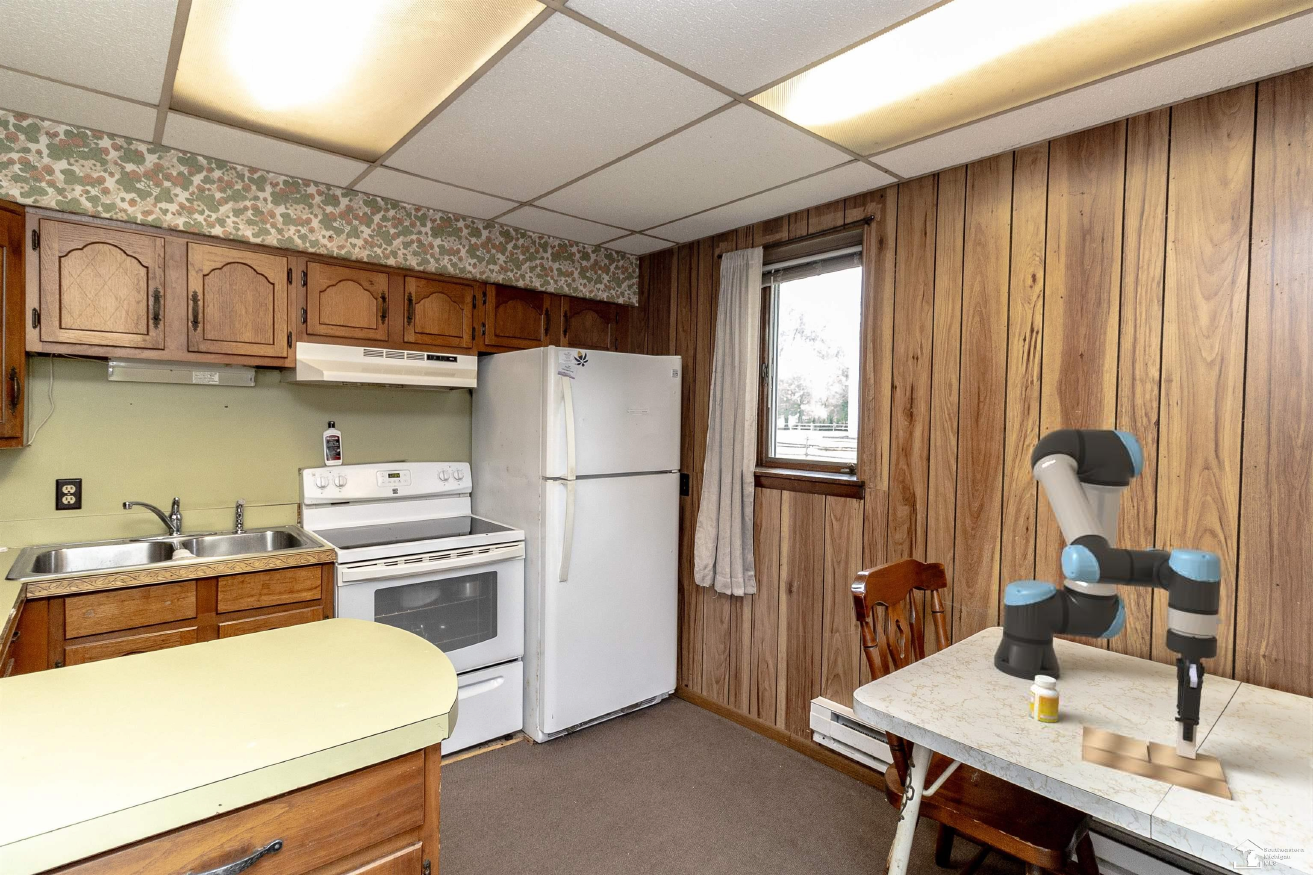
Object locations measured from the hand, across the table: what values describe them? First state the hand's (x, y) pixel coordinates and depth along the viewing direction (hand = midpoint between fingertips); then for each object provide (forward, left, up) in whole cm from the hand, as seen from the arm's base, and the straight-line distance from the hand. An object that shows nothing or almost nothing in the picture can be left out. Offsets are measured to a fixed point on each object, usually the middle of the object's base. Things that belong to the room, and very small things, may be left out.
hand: (1185, 754), depth 125 cm
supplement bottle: (-24, +5, -3) cm, 24 cm away
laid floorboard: (-6, -10, -2) cm, 11 cm away
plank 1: (-11, -2, -2) cm, 11 cm away
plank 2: (0, -2, -2) cm, 2 cm away
